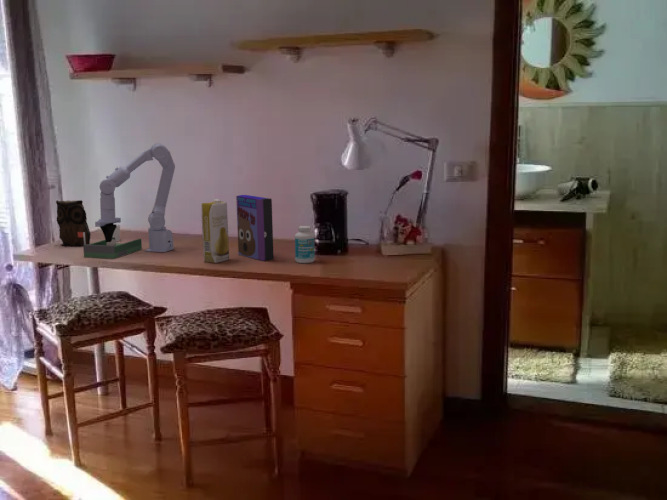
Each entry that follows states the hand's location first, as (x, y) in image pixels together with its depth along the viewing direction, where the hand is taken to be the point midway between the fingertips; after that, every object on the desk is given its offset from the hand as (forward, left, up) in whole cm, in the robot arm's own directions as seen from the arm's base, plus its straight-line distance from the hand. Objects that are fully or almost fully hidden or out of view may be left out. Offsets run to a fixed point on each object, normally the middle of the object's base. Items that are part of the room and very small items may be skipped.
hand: (108, 242), depth 310 cm
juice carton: (-50, +1, -5) cm, 50 cm away
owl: (+26, -15, -5) cm, 30 cm away
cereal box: (-62, -9, -5) cm, 63 cm away
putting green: (0, -2, -5) cm, 5 cm away
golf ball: (0, -1, -1) cm, 2 cm away
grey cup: (+16, -26, -5) cm, 31 cm away
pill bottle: (-84, -6, -5) cm, 84 cm away
